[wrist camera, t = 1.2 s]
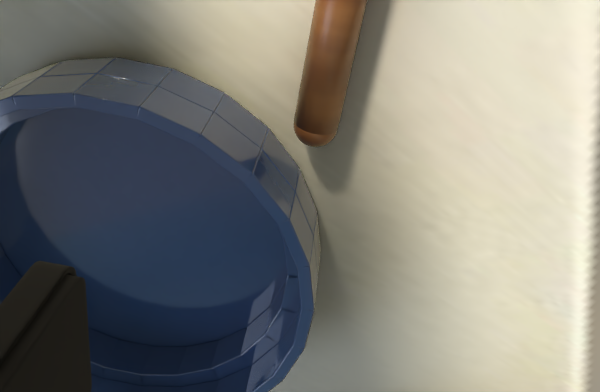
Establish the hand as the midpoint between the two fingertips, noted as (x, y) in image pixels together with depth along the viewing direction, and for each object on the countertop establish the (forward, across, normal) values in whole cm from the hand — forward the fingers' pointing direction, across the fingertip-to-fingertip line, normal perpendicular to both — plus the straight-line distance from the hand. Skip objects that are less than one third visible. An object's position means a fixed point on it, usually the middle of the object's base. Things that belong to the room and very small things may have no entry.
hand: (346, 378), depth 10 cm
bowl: (+18, +10, +11) cm, 23 cm away
